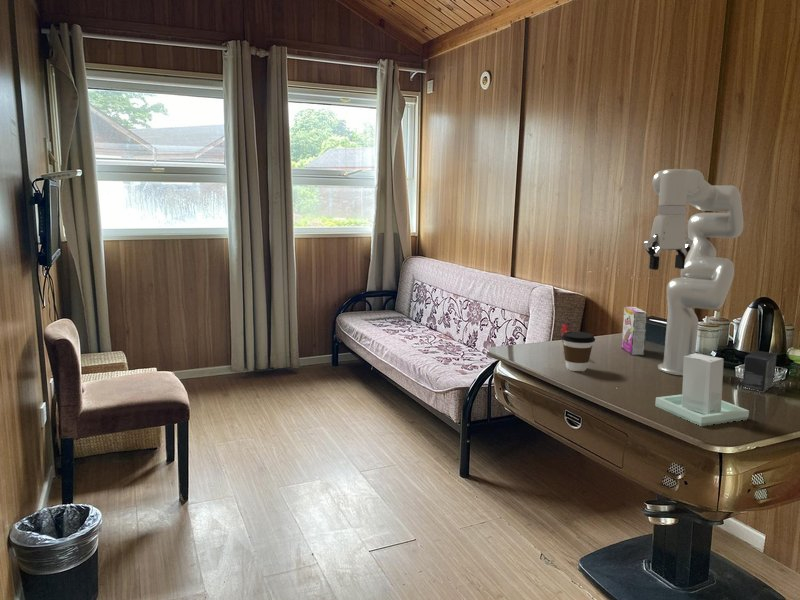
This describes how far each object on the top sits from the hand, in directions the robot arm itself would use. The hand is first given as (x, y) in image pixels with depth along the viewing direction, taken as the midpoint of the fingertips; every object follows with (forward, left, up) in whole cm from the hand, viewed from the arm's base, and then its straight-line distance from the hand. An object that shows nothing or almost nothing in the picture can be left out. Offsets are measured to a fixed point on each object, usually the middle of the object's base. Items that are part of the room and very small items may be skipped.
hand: (666, 268), depth 181 cm
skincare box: (+7, +24, -36) cm, 43 cm away
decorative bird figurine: (+4, -40, -36) cm, 54 cm away
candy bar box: (-21, -36, -36) cm, 55 cm away
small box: (-29, +11, -37) cm, 48 cm away
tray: (+7, +24, -36) cm, 44 cm away
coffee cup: (+14, -22, -36) cm, 45 cm away
